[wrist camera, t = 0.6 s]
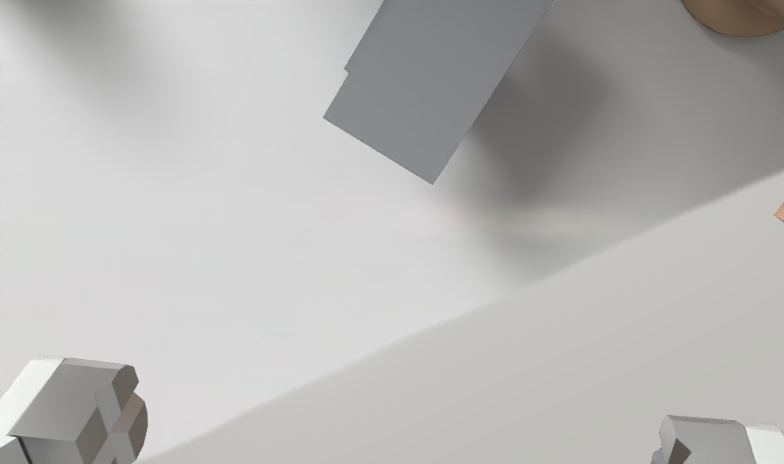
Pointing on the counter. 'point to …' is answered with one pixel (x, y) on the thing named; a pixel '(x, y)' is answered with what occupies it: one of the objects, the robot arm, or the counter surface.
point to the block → (780, 213)
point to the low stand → (429, 75)
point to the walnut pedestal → (739, 15)
